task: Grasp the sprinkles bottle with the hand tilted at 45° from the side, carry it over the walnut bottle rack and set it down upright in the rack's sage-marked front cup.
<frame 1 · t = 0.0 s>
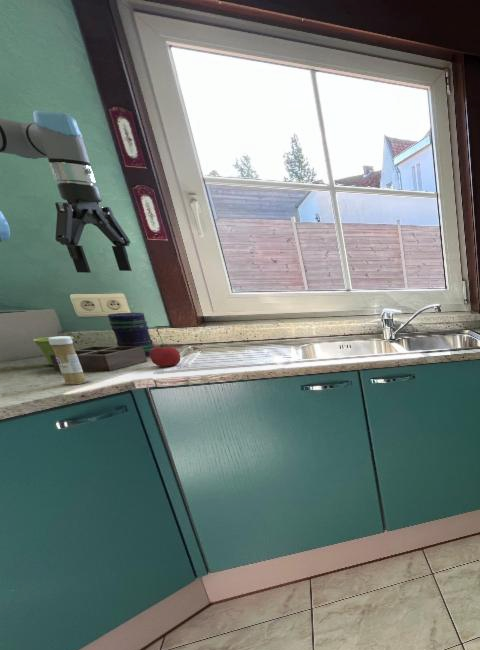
hand: (105, 271, 134), 31 cm above the worktop, tool pointing down, fingers open, 13 cm apart
tomato: (168, 366, 167), on the worktop
plant pot: (63, 364, 166), on the worktop
sprinkles bottle: (76, 383, 144), on the worktop
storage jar: (139, 356, 181), on the worktop
bottle rack: (103, 365, 165), on the worktop
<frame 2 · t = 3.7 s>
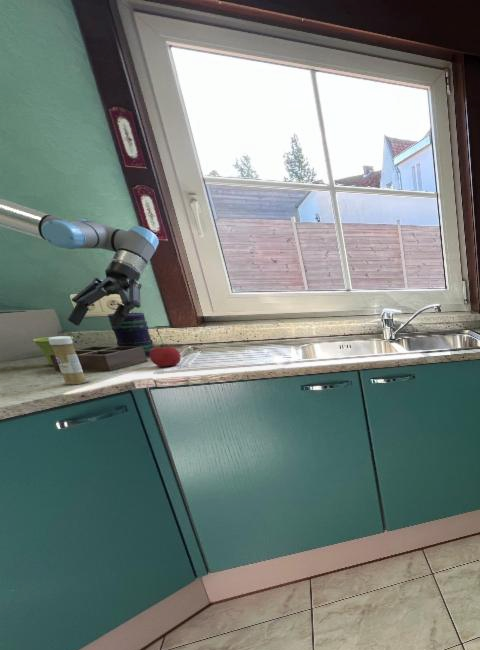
hand: (93, 323, 148), 16 cm above the worktop, tool tilted 45°, fingers open, 13 cm apart
nothing on the worktop moved.
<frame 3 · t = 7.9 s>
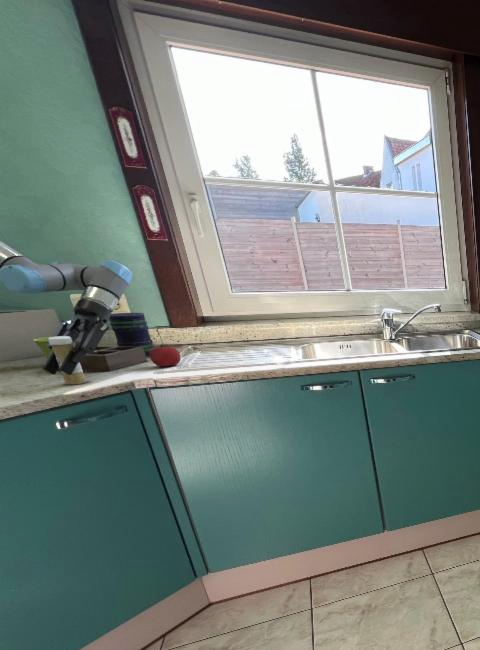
hand: (56, 371, 139), 4 cm above the worktop, tool tilted 45°, fingers closed on sprinkles bottle, 4 cm apart
sprinkles bottle: (76, 383, 144), on the worktop, touching gripper
everything else where it was.
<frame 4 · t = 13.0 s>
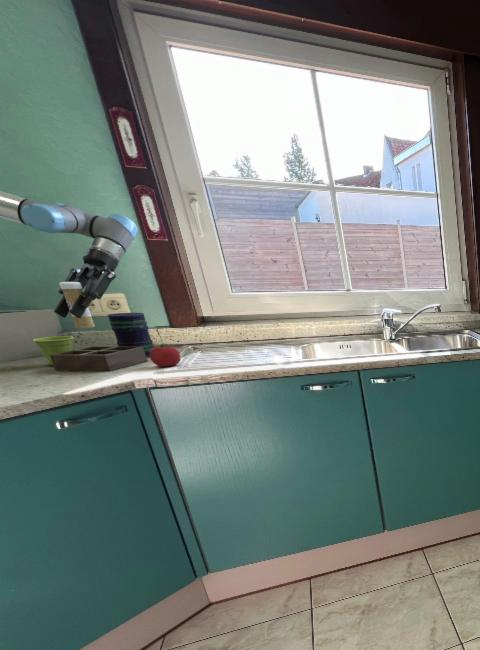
hand: (67, 314, 148), 18 cm above the worktop, tool tilted 45°, fingers closed on sprinkles bottle, 4 cm apart
sprinkles bottle: (85, 327, 154), point 14 cm above the worktop, touching gripper
everything else where it was.
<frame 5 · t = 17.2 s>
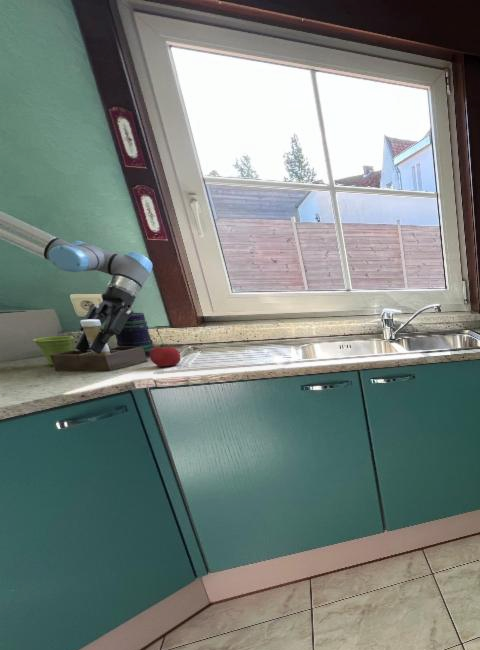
hand: (87, 350, 156), 6 cm above the worktop, tool tilted 45°, fingers closed on sprinkles bottle, 4 cm apart
sprinkles bottle: (104, 362, 161), point 2 cm above the worktop, touching gripper
everything else where it was.
when the fingers open (7 cm above the worktop, at t = 18.1 s): sprinkles bottle drops 1 cm, resting on bottle rack.
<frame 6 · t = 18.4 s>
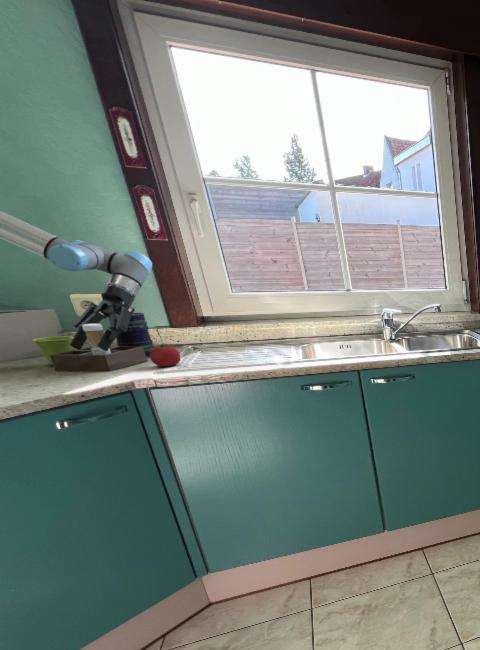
hand: (88, 347, 156), 7 cm above the worktop, tool tilted 45°, fingers open, 9 cm apart
sprinkles bottle: (106, 366, 162), point 1 cm above the worktop, touching bottle rack
everything else where it was.
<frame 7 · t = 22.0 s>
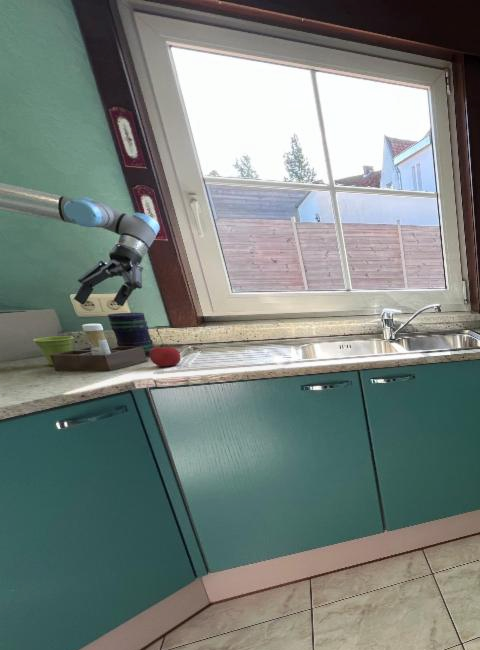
hand: (98, 302, 159), 21 cm above the worktop, tool tilted 45°, fingers open, 13 cm apart
nothing on the worktop moved.
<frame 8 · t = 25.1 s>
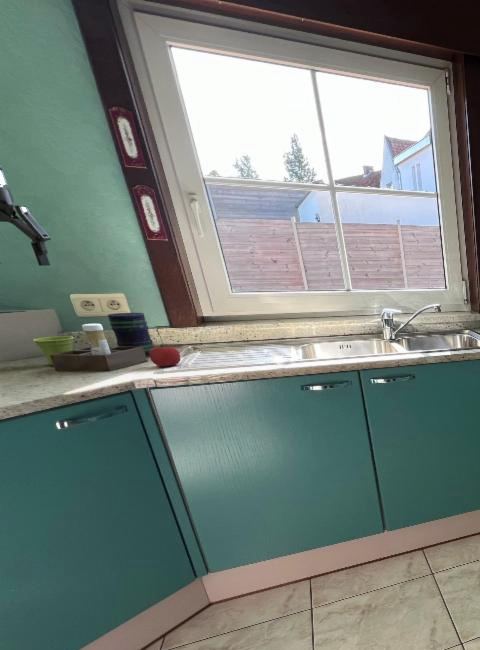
hand: (20, 265, 149), 32 cm above the worktop, tool pointing down, fingers open, 13 cm apart
nothing on the worktop moved.
at the end: sprinkles bottle 0.1 cm from the target spot in the bottle rack, point 0.6 cm above the bottle rack's base; sprinkles bottle tilted 0°; the gripper is holding nothing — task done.
